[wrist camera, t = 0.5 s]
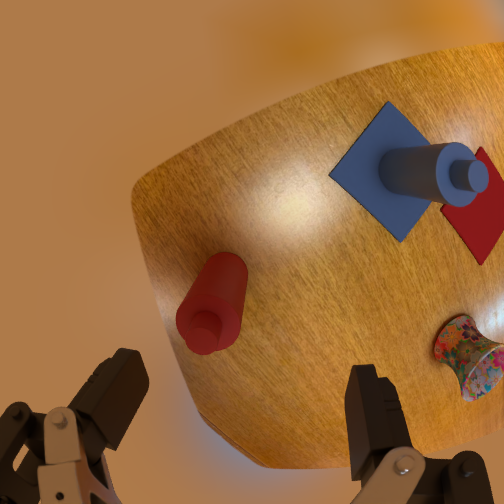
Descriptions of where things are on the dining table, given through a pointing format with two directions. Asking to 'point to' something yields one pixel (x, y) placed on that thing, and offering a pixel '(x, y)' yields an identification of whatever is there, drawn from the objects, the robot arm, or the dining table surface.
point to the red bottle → (214, 305)
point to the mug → (470, 357)
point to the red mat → (480, 214)
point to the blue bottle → (435, 173)
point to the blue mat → (367, 171)
